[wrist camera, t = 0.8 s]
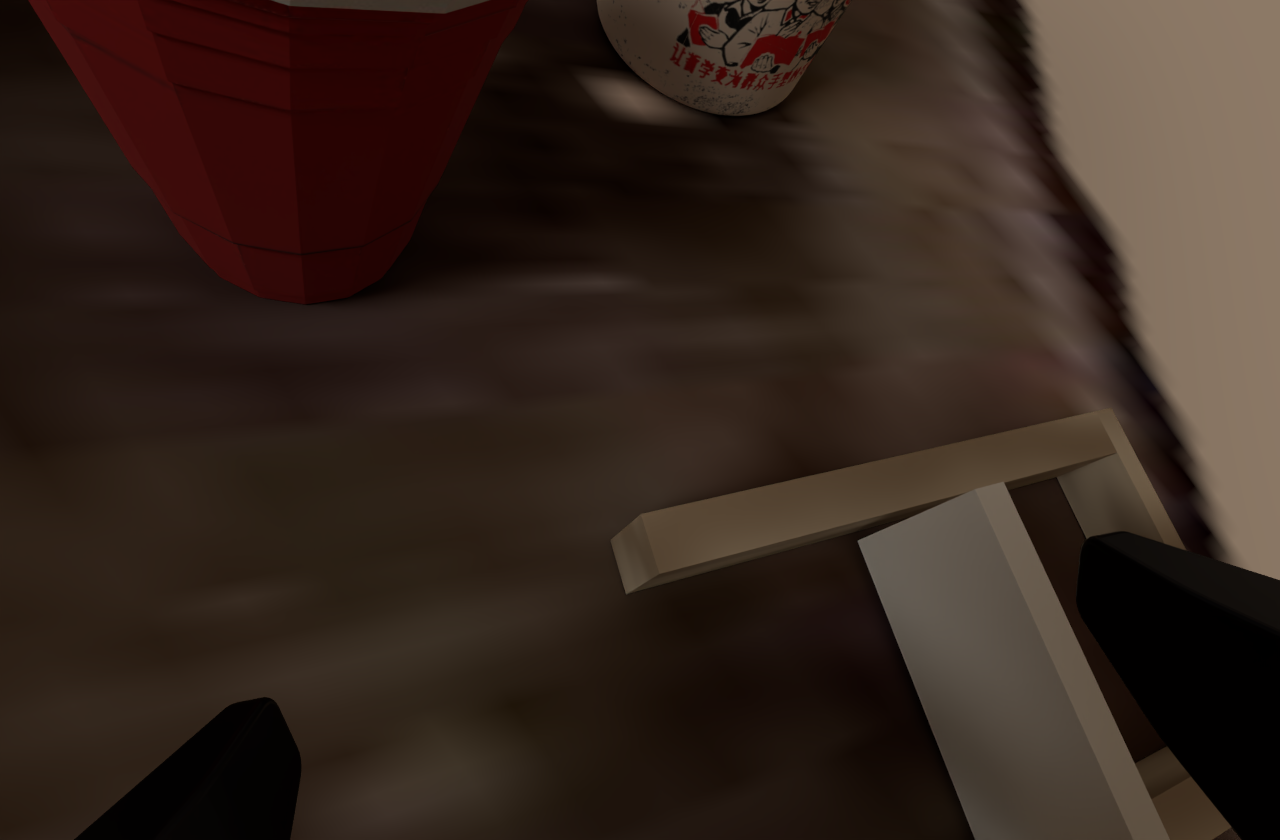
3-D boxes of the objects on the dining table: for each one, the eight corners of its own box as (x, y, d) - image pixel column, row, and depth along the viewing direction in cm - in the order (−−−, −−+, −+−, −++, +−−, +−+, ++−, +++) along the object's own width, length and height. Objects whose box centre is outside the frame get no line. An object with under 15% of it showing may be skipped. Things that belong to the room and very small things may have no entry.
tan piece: (1222, 777, 24) (1306, 778, 22) (760, 1052, 17) (819, 1093, 15) (1052, 435, 28) (1111, 407, 26) (610, 540, 21) (641, 513, 19)
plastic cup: (566, 223, 24) (729, -172, 14) (323, 469, 19) (299, 115, 9) (292, 12, 24) (252, -553, 14) (-38, 199, 19) (-514, -509, 8)
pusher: (1050, 800, 22) (1224, 808, 17) (975, 840, 20) (1142, 860, 16) (931, 520, 24) (1056, 467, 20) (857, 540, 23) (974, 488, 19)
